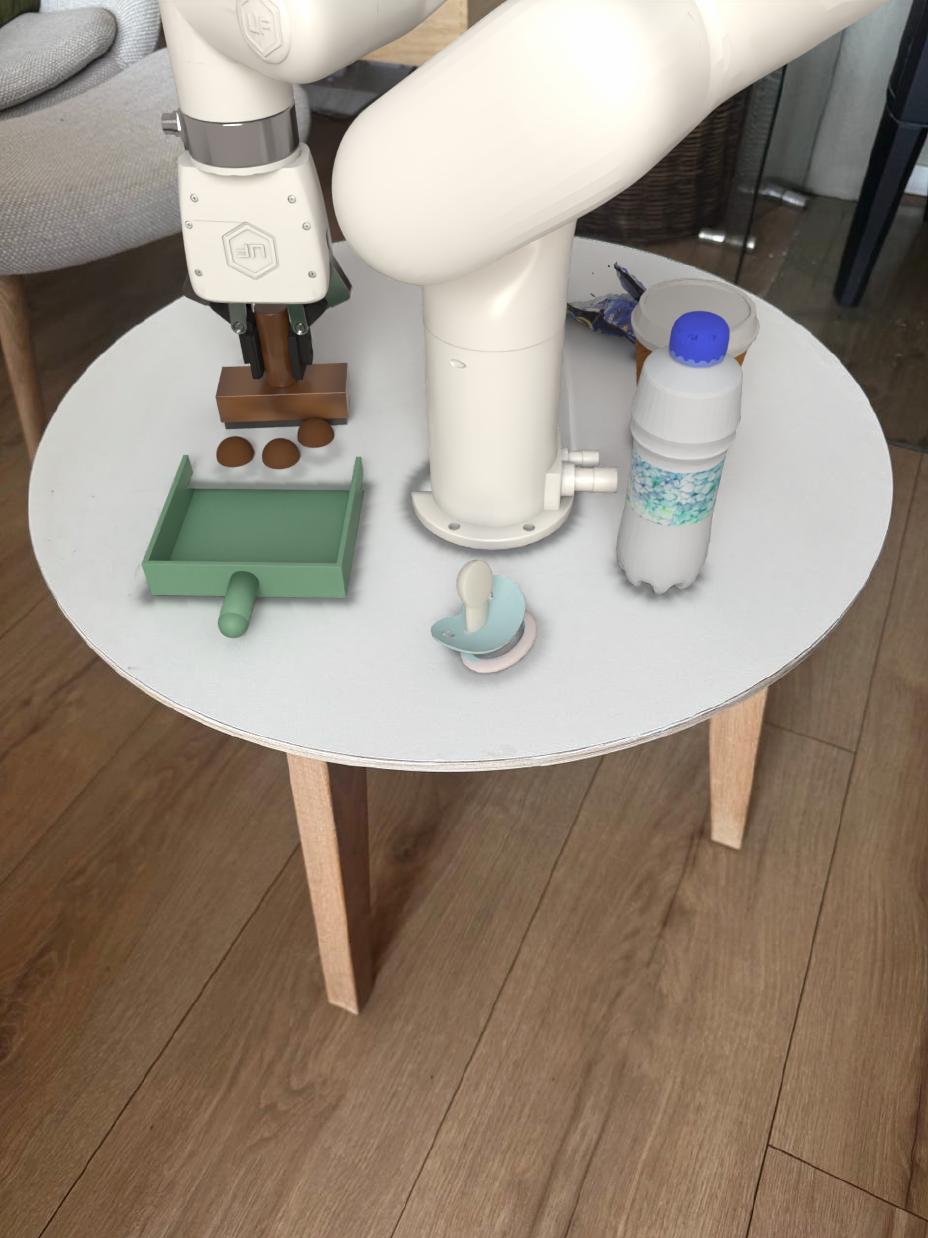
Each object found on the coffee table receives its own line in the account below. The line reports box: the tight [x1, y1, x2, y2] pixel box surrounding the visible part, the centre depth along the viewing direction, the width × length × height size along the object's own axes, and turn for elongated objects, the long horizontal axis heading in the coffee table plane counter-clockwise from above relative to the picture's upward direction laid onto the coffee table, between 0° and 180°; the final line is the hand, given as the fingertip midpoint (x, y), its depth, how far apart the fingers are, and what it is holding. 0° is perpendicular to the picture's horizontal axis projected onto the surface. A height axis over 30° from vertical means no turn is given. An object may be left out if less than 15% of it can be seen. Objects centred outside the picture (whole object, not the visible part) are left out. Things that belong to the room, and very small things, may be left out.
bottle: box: [615, 311, 744, 595], centre depth 64 cm, size 7×7×20 cm
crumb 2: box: [261, 437, 301, 470], centre depth 79 cm, size 3×3×3 cm
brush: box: [214, 304, 351, 430], centre depth 80 cm, size 10×4×10 cm, turn 93°
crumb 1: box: [215, 435, 256, 468], centre depth 79 cm, size 3×3×3 cm
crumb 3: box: [296, 418, 335, 449], centre depth 81 cm, size 3×3×3 cm
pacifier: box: [430, 559, 538, 674], centre depth 64 cm, size 7×6×6 cm
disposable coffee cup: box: [631, 277, 761, 388], centre depth 78 cm, size 10×10×12 cm
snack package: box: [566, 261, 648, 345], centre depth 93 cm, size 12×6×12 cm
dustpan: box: [141, 454, 365, 639], centre depth 71 cm, size 17×14×3 cm
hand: (280, 368), depth 80 cm, fingers closed on brush, 2 cm apart
